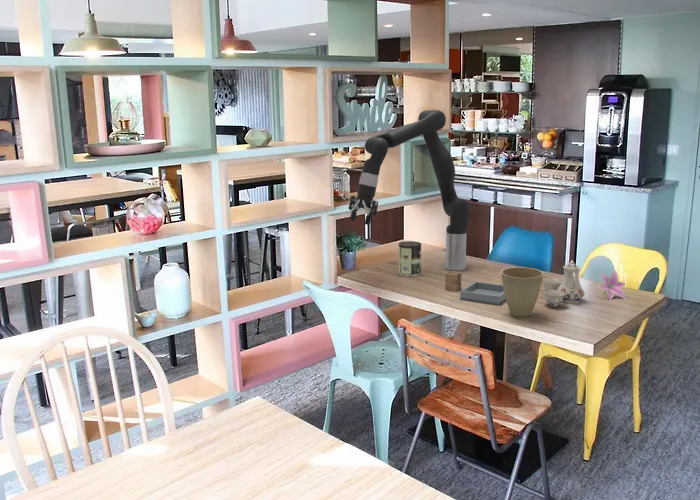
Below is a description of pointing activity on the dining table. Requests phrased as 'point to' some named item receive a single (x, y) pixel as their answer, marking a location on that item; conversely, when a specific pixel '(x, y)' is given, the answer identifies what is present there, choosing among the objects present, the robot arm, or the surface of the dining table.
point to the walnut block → (453, 281)
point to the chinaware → (564, 287)
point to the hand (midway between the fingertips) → (359, 222)
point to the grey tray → (483, 293)
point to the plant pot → (521, 289)
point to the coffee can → (409, 258)
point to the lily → (612, 285)
